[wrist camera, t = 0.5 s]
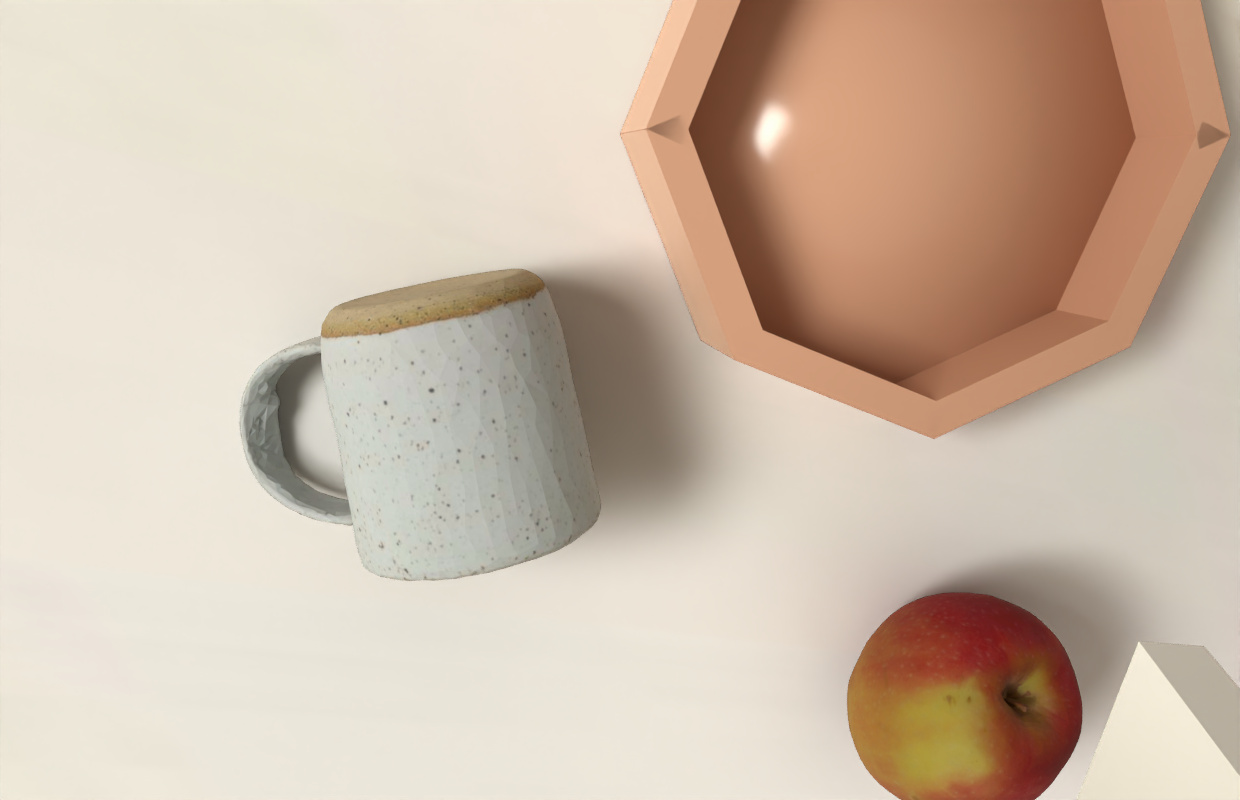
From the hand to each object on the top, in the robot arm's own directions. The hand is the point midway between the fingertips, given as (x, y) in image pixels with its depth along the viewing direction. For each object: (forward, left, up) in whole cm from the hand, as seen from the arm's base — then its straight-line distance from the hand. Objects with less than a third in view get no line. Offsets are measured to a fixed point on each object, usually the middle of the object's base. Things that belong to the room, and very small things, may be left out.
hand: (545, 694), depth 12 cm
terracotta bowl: (-1, +17, -25) cm, 30 cm away
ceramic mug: (+1, -2, -25) cm, 25 cm away
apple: (+18, +11, -25) cm, 33 cm away
